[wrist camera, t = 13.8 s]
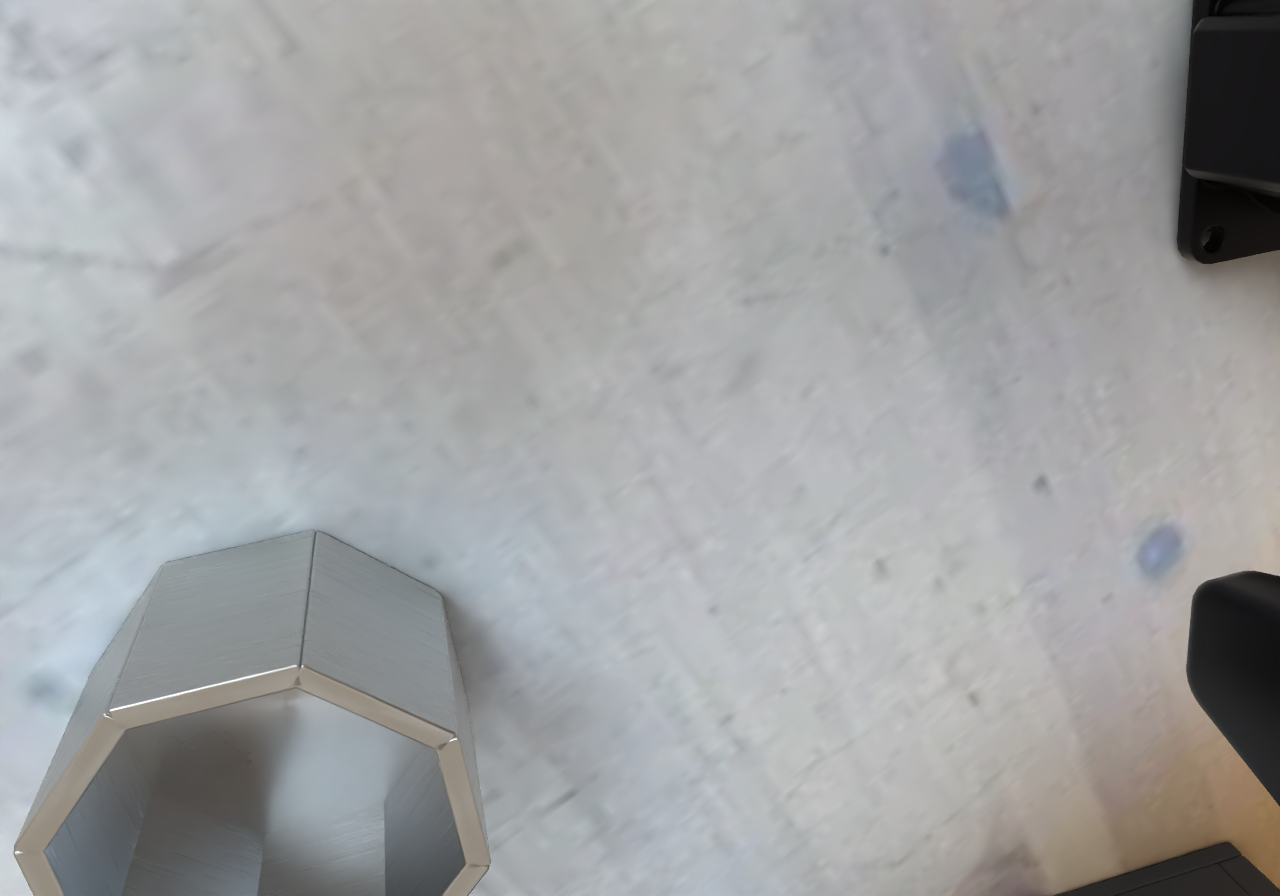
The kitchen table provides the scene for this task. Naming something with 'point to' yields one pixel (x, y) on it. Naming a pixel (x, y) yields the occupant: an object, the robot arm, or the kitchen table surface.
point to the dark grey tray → (1190, 877)
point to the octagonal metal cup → (267, 739)
